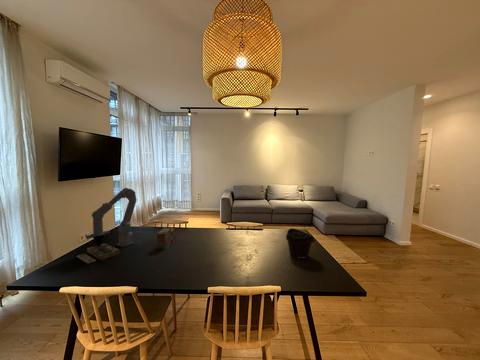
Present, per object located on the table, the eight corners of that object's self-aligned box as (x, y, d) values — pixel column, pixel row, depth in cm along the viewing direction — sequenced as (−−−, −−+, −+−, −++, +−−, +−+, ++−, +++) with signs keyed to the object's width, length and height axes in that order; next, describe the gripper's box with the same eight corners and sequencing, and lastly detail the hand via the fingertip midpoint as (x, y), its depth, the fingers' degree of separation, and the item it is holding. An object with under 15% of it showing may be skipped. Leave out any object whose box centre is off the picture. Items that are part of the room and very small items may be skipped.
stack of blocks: (168, 238, 182) (168, 224, 180) (175, 239, 181) (175, 224, 180) (157, 249, 160) (156, 233, 159) (165, 249, 160) (165, 233, 159)
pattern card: (84, 254, 148) (84, 253, 148) (96, 260, 139) (96, 260, 139) (76, 256, 144) (76, 256, 144) (87, 263, 135) (87, 263, 135)
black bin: (315, 262, 144) (316, 236, 143) (285, 259, 148) (286, 234, 147) (312, 252, 161) (313, 228, 160) (285, 249, 165) (286, 226, 164)
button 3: (109, 250, 150) (109, 245, 150) (112, 251, 148) (112, 247, 147) (102, 252, 146) (102, 247, 146) (106, 253, 144) (105, 249, 144)
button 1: (100, 248, 157) (100, 244, 157) (103, 249, 155) (103, 245, 154) (93, 250, 153) (93, 246, 153) (96, 251, 151) (96, 247, 151)
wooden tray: (105, 247, 161) (105, 243, 161) (119, 253, 150) (119, 249, 150) (87, 252, 151) (87, 248, 151) (101, 260, 140) (100, 255, 140)
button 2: (104, 247, 153) (104, 243, 153) (108, 249, 151) (107, 245, 151) (98, 249, 150) (98, 245, 149) (101, 251, 147) (101, 247, 147)
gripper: (89, 231, 144) (89, 250, 145) (111, 226, 157) (111, 244, 158) (84, 229, 148) (85, 248, 149) (106, 224, 160) (107, 241, 161)
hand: (98, 245), depth 154 cm, fingers closed, pressing on button 1
